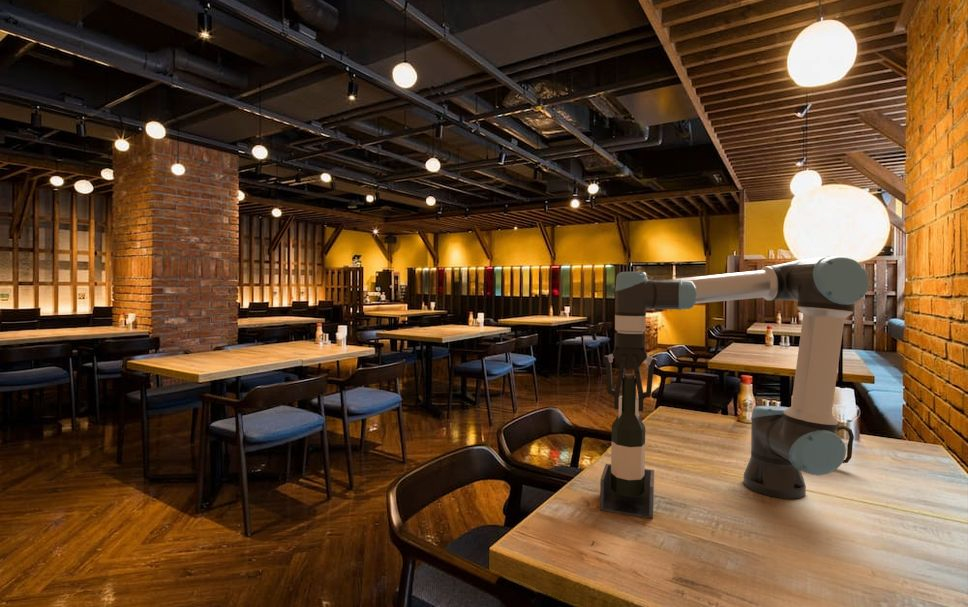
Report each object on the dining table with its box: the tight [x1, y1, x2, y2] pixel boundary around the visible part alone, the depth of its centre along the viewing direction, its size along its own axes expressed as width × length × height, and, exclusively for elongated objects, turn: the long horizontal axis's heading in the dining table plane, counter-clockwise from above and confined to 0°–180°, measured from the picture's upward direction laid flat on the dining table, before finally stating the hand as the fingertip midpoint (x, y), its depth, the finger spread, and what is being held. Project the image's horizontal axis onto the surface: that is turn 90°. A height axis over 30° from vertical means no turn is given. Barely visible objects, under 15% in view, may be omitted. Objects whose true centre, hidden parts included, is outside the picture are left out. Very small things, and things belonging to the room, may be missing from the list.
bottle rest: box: [599, 463, 655, 520], centre depth 125 cm, size 13×12×8 cm
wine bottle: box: [610, 373, 646, 497], centre depth 124 cm, size 8×8×30 cm
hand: (628, 422), depth 124 cm, fingers closed on wine bottle, 3 cm apart
